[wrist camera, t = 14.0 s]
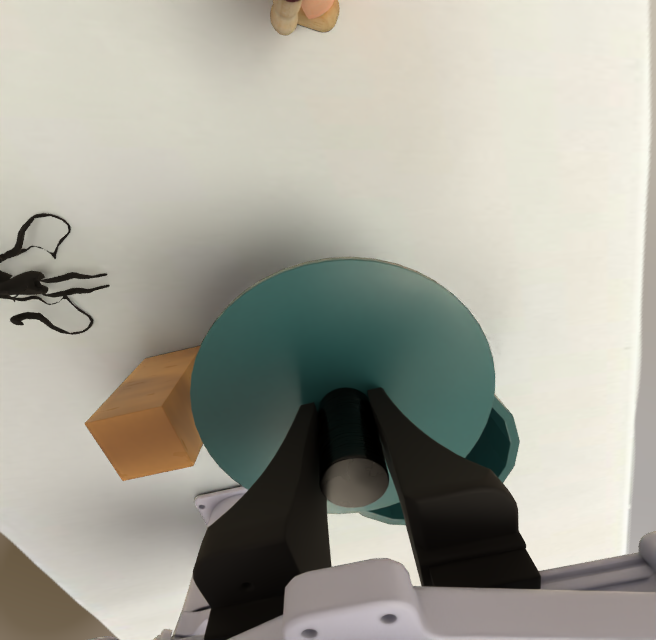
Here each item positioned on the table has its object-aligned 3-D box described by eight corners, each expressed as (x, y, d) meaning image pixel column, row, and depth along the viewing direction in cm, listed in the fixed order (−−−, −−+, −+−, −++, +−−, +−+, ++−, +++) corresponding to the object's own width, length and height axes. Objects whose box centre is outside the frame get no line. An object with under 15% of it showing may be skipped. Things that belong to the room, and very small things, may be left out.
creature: (104, 212, 21) (-53, 209, 19) (68, 223, 17) (-145, 221, 15) (127, 325, 24) (-6, 332, 22) (102, 361, 20) (-70, 375, 18)
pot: (484, 449, 29) (520, 506, 24) (343, 477, 30) (349, 539, 25) (476, 321, 24) (519, 360, 19) (307, 360, 25) (306, 406, 20)
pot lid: (491, 467, 18) (551, 566, 14) (252, 516, 19) (232, 627, 14) (474, 216, 13) (564, 237, 8) (146, 298, 14) (60, 360, 9)
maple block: (223, 394, 26) (193, 466, 19) (169, 406, 26) (122, 481, 20) (202, 345, 24) (161, 406, 18) (144, 358, 24) (83, 423, 18)
